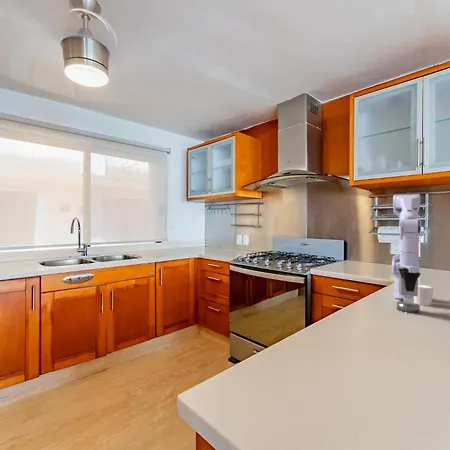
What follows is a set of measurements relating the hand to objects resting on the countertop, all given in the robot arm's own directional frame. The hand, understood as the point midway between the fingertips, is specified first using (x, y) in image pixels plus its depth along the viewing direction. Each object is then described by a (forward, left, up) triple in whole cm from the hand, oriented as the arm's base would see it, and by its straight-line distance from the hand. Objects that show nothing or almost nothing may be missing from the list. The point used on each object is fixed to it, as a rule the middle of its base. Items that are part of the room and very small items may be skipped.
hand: (408, 289), depth 107 cm
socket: (0, 0, -2) cm, 2 cm away
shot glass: (-13, +7, -8) cm, 17 cm away
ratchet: (-3, 0, -8) cm, 8 cm away
